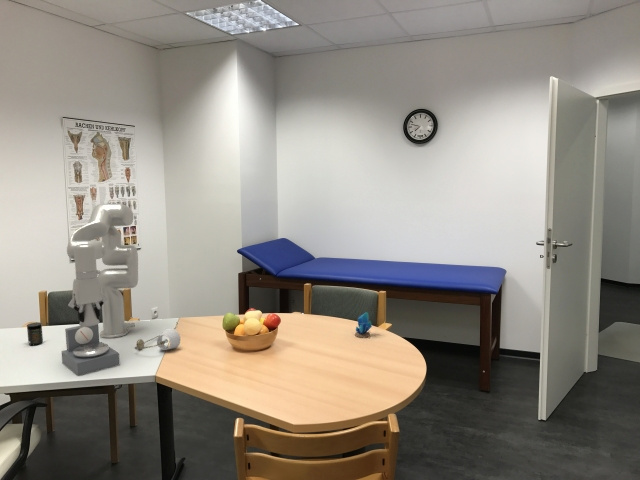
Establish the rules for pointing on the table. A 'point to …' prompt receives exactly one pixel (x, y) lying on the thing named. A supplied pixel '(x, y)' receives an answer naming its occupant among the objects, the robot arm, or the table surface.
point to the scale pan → (91, 350)
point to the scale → (86, 364)
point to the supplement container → (35, 334)
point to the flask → (89, 316)
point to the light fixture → (172, 336)
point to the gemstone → (363, 326)
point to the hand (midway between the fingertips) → (89, 319)
